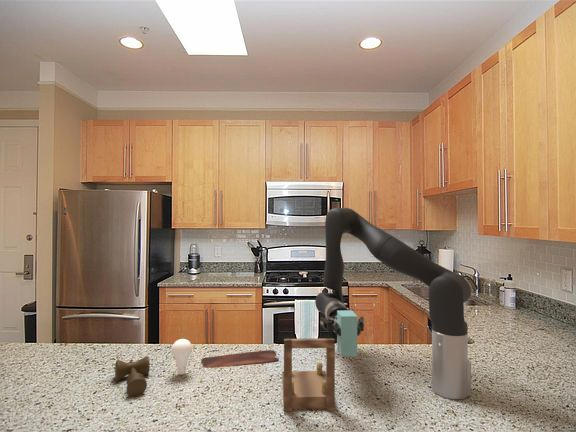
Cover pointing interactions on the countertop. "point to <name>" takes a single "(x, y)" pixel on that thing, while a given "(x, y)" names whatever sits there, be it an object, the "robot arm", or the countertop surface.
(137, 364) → the kendama
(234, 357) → the wooden tablet
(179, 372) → the lightbulb
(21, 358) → the countertop surface
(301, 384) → the peg shelf
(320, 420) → the countertop surface
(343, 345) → the teal block
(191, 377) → the countertop surface
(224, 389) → the countertop surface
